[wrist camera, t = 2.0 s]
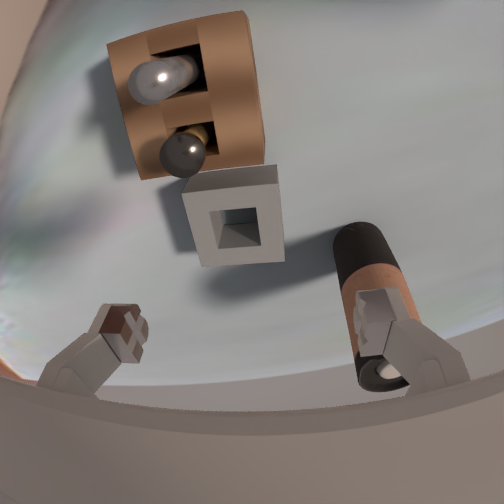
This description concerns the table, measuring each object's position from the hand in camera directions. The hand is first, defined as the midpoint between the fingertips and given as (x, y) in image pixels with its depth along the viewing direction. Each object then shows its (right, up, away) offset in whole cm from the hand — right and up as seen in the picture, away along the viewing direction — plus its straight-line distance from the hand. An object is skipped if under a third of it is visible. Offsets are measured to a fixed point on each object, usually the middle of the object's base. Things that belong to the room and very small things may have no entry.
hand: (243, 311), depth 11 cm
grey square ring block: (-1, +8, +27) cm, 28 cm away
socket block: (-5, +19, +18) cm, 27 cm away
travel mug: (+15, +3, +30) cm, 33 cm away
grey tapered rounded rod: (-5, +21, +17) cm, 28 cm away
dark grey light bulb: (-5, +14, +18) cm, 24 cm away
